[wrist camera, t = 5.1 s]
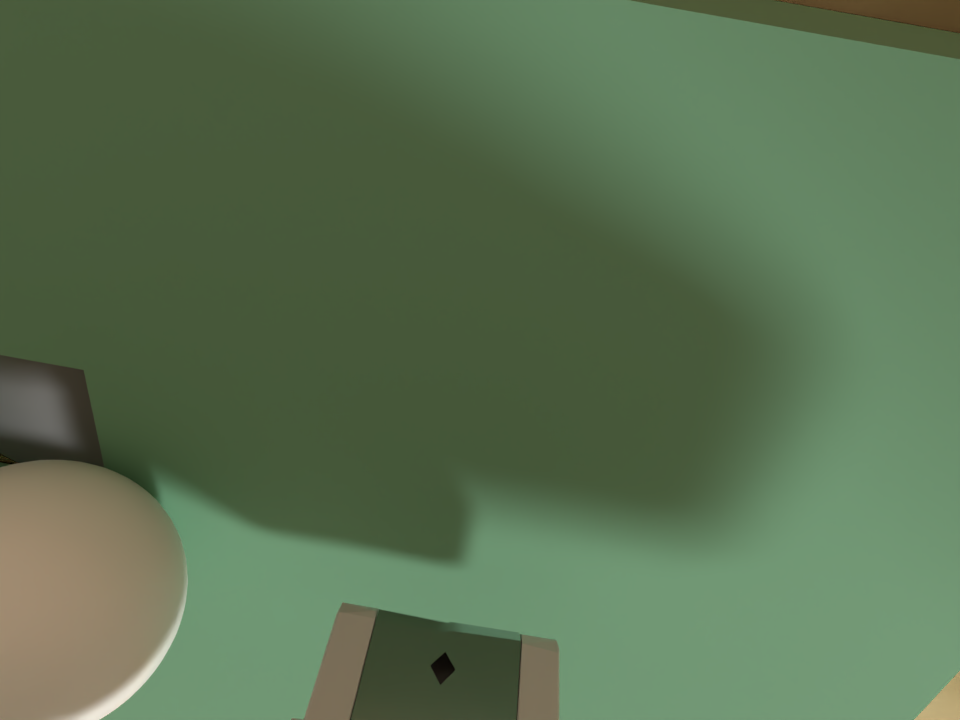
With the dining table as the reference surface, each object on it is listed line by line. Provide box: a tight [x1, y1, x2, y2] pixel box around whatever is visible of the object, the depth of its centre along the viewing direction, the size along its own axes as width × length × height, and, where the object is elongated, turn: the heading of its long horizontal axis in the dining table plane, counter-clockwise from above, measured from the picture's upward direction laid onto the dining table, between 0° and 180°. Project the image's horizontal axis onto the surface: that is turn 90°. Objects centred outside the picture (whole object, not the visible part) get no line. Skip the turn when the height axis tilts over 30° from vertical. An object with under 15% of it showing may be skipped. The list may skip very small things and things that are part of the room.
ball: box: [0, 460, 188, 720], centre depth 9 cm, size 4×4×4 cm
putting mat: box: [0, 0, 960, 720], centre depth 11 cm, size 20×16×4 cm
